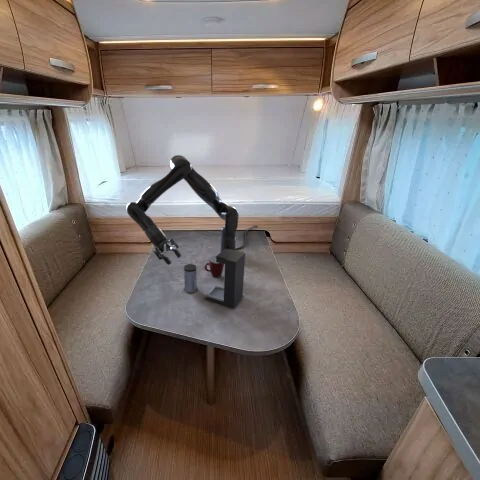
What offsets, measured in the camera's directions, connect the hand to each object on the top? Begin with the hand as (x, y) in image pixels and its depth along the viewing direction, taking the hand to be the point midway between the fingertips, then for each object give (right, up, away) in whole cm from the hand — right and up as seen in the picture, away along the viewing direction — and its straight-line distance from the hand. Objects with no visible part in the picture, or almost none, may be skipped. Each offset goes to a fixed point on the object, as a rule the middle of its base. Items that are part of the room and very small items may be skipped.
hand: (175, 260), depth 133 cm
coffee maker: (+24, -18, -5) cm, 31 cm away
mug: (+20, -10, +14) cm, 26 cm away
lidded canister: (+8, -15, +2) cm, 17 cm away
